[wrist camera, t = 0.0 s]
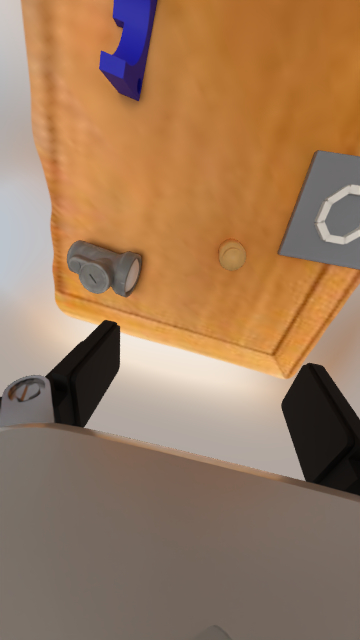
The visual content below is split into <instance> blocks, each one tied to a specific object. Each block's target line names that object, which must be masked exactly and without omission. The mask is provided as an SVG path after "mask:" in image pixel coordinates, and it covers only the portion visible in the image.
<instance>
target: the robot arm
mask: <svg viewBox="0 0 360 640" xmlns="http://www.w3.org/2000/svg"><path fill="white" fill-rule="evenodd" d="M119 367H120V326H118V325H117V323H116V322H113V321H108V320H104V321H103V322H102V323H101V324H100V325H99V326H98V327H97V328H96V329H95V330H94V331H93V332H92V333H91V334H90V335H89V336H88V337H87V338H86V339H85V340H84V341H82V342H80V343H79V344H78V345H77V346H76V347H75V348H74V349H73V350H72V351H71V352H70V353H69V354H68V355H67V356H66V357H65V358H64V359H63V360H62V361H61V362H60V363H59V364H58V365H57V366H56V367H55V368H54V369H52V371H51V372H50V373H48V374H47V375H46V376H45V377H44V376H41V375H31V376H26V377H23V378H20V379H18V380H16V381H14V382H13V383H11V384H10V385H9V386H8V387H7V388H6V389H5V391H4V392H3V395H2V397H0V640H360V419H359V418H358V416H357V415H356V413H355V412H354V410H353V409H352V407H351V406H350V405H349V403H348V402H347V400H346V399H345V397H344V396H343V394H342V393H341V392H340V390H339V389H338V387H337V386H336V384H335V383H334V381H333V380H332V378H331V377H330V376H329V374H328V372H327V371H326V369H325V368H324V367H323V366H321V365H317V364H312V363H308V364H306V365H303V366H302V368H301V370H300V371H299V373H298V375H297V377H296V378H295V380H294V382H293V384H292V386H291V387H290V389H289V391H288V392H287V394H286V396H285V398H284V399H283V401H282V405H281V406H282V411H283V414H284V417H285V420H286V423H287V426H288V429H289V432H290V435H291V438H292V441H293V444H294V447H295V450H296V453H297V456H298V459H299V462H300V466H301V468H302V472H303V475H304V477H305V480H306V481H302V480H298V479H294V478H290V477H286V476H282V475H278V474H274V473H269V472H266V471H262V470H258V469H254V468H250V467H246V466H242V465H238V464H234V463H230V462H226V461H221V460H218V459H214V458H210V457H206V456H201V455H197V454H193V453H189V452H185V451H181V450H177V449H172V448H168V447H164V446H160V445H156V444H152V443H148V442H143V441H139V440H135V439H131V438H127V437H122V436H118V435H114V434H109V433H105V432H100V431H96V430H91V429H86V428H84V427H85V425H86V424H87V422H88V420H89V419H90V417H91V415H92V414H93V412H94V410H95V409H96V407H97V405H98V404H99V402H100V401H101V399H102V397H103V396H104V393H105V392H106V390H107V389H108V387H109V386H110V384H111V382H112V380H113V379H114V377H115V376H116V374H117V372H118V370H119Z"/></svg>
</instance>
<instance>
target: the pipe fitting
mask: <svg viewBox="0 0 360 640" xmlns="http://www.w3.org/2000/svg"><path fill="white" fill-rule="evenodd" d="M67 263H68V267H69V269H70V270H71V271H72V272H75V273H77V274H79V279H80V281H81V283H82V285H83V286H84V287H85V288H86V289H87V290H88V291H90V292H92V293H97V294H99V293H103V292H105V291H106V290H107V289H109V287H110V286H111V287H112V288H113V290H114V292H115V293H116V294H118V295H121V296H123V297H128V296H130V294H131V293H132V292H133V290H134V288H135V286H136V284H137V281H138V278H139V275H140V271H141V263H142V259H141V256H140V255H139V254H136V253H133V252H130V251H129V252H126V253H123V254H118V253H115V252H112V251H109V250H107V249H104V248H101V247H99V246H96V245H93V244H90V243H88V242H85V241H81V240H79V241H76V242H75V243H74V244H73V245H72V246H71V247H70V249H69V251H68V254H67Z"/></svg>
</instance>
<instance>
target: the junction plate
mask: <svg viewBox="0 0 360 640" xmlns="http://www.w3.org/2000/svg"><path fill="white" fill-rule="evenodd" d="M278 254H279V255H284V256H289V257H295V258H300V259H306V260H311V261H317V262H322V263H327V264H333V265H338V266H344V267H349V268H355V269H360V157H359V156H352V155H345V154H339V153H332V152H326V151H319V150H318V151H316V152H315V153H314V156H313V158H312V161H311V164H310V166H309V169H308V172H307V175H306V177H305V180H304V183H303V185H302V188H301V191H300V194H299V196H298V199H297V202H296V204H295V207H294V210H293V212H292V215H291V218H290V221H289V223H288V226H287V229H286V231H285V234H284V237H283V240H282V242H281V245H280V248H279V250H278Z"/></svg>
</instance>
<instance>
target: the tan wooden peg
mask: <svg viewBox="0 0 360 640" xmlns="http://www.w3.org/2000/svg"><path fill="white" fill-rule="evenodd" d="M245 260H246V252H245V250H244V248H243V247H242V245H241V244H240V243H239V242H238V241H237V240H235V239H227V240H225V241H224V242H223V243H222V244H221V245H220V247H219V261H220V264H221V265H222V267H223V268H225V269H227V270H231V271H232V270H237V269H239V268H240V267H241V266H242V265H243V264H244V262H245Z"/></svg>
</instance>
